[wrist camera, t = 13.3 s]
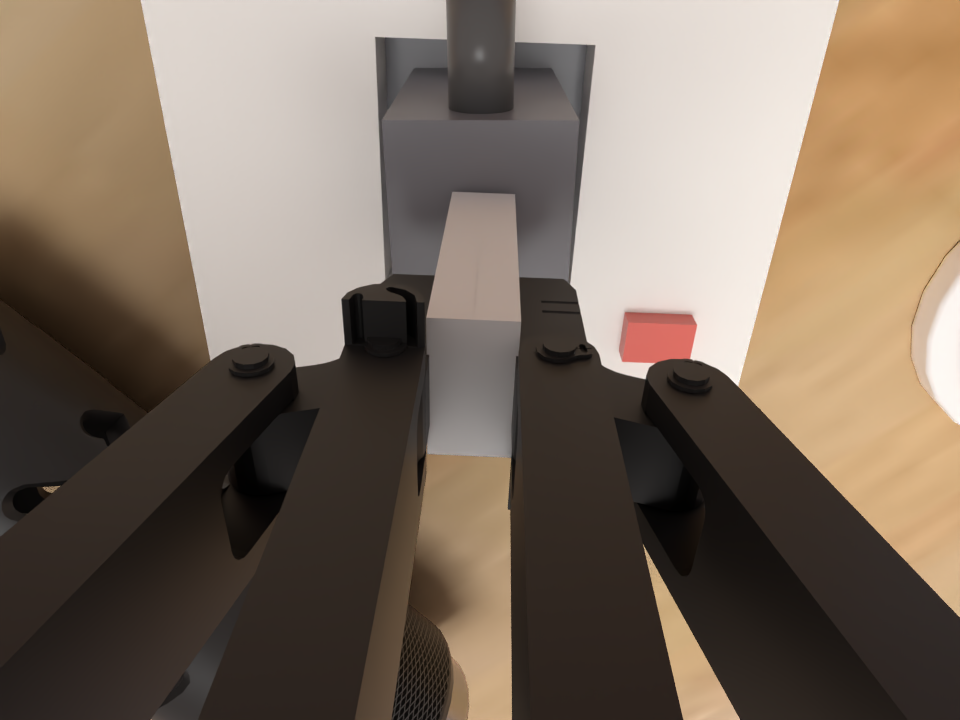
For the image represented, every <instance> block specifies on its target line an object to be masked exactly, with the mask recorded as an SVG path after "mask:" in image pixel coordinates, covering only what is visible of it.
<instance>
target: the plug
mask: <svg viewBox="0 0 960 720" xmlns="http://www.w3.org/2000/svg"><path fill="white" fill-rule="evenodd" d="M446 20H447V63H448V68H414V69H413V71H412V72H411V74H410V75H409V77H408V79H407V80H406V82H405V83H404V85H403V87H402V88H401V90H400V91H399V93H398V95H397V96H396V98H395V99H394V101H393V103H392V104H391V106H390V108H389V109H388V111H387V112H386V114H385V116H384V117H383V119H382V133H383V147H384V161H385V176H386V190H387V204H388V218H389V232H390V247H391V261H392V275H393V274H410V275H435V273H436V268H437V263H438V259H439V254H440V249H441V244H442V239H443V234H444V230H445V225H446V220H447V215H448V210H449V205H450V201H451V196H452V192H474V193H500V194H515V204H516V225H517V246H518V267H519V277H530V278H554V279H564V280H566V281H567V282H568V278H569V263H570V249H571V234H572V220H573V205H574V191H575V177H576V162H577V148H578V133H579V119H578V117H577V115H576V113H575V111H574V109H573V107H572V105H571V103H570V102H569V100H568V98H567V96H566V94H565V92H564V90H563V88H562V86H561V84H560V82H559V80H558V79H557V77H556V75H555V73H554V71H553V69H552V68H514V65H515V20H516V0H446Z"/></svg>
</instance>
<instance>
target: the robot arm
mask: <svg viewBox="0 0 960 720" xmlns="http://www.w3.org/2000/svg"><path fill="white" fill-rule="evenodd" d="M341 303H342V316H343V329H344V341H345V345H344V348H343V350H342V353H341V355H340V358H339V359H336V360H333V361H330V362H327V363H322V364H317V365H310V366H302V367H296V365H295V359H294V355H293V354H292V353H291V352H289V351H288V350H287V349H286V348H282V347H279V346H276V345H269V344H261V343H254V344H252V345H250V344H246V345H241V346H239V347H236V348H233V349H230V350H227V351H225V352H223V353H222V354H220V355H218V356H217V357H215V358H214V359H212V360H211V361H210V362H209V363H208V364H206V365H205V366H204V367H203V368H202V369H200V370H199V371H198V372H197V373H196V374H194V375H193V376H192V377H191V378H190V379H188V380H187V381H186V382H185V383H184V384H182V385H181V386H180V387H179V388H178V389H177V390H175V391H174V392H173V393H172V394H171V395H169V396H168V397H167V398H166V399H165V400H163V401H162V402H161V403H160V404H159V405H157V406H156V407H155V408H154V409H153V410H151V411H150V412H149V413H148V414H147V415H145V416H144V417H143V418H142V419H141V420H139V421H138V422H137V423H136V424H135V425H133V426H132V427H131V428H130V429H129V430H127V431H126V432H125V433H124V434H123V435H121V436H120V437H119V438H118V439H117V440H115V441H114V442H113V443H112V444H111V445H109V446H108V447H107V448H106V449H105V450H103V451H102V452H101V453H100V454H99V455H97V456H96V457H95V458H94V459H93V460H91V461H90V462H89V463H88V464H87V465H85V466H84V467H83V468H82V469H81V470H79V471H78V472H77V473H76V474H75V475H74V476H72V477H71V478H70V479H69V480H68V481H66V482H65V483H64V484H63V485H62V486H60V487H59V488H58V489H57V490H56V491H54V492H53V493H52V494H51V495H50V496H48V497H47V498H46V499H45V500H44V501H42V502H41V503H40V504H39V505H38V506H36V507H35V508H34V509H33V510H32V511H30V512H29V513H28V514H27V515H26V516H24V517H23V518H22V519H21V520H20V521H18V522H17V523H16V524H15V525H14V526H12V527H11V528H10V529H9V530H8V531H6V532H5V533H4V534H3V535H2V536H0V720H151V718H152V717H153V715H154V714H155V713H156V711H157V710H158V708H159V707H160V706H161V704H162V703H163V701H164V700H165V699H166V697H167V696H168V694H169V693H170V692H171V690H172V689H173V687H174V686H175V685H176V683H177V682H178V681H179V679H180V678H181V676H182V675H183V674H184V672H185V671H186V669H187V668H188V667H189V665H190V664H191V662H192V661H193V660H194V658H195V657H196V655H197V654H198V653H199V651H200V650H201V648H202V647H203V646H204V644H205V643H206V641H207V640H208V639H209V637H210V636H211V634H212V633H213V632H214V630H215V629H216V627H217V626H218V625H219V623H220V622H221V620H222V619H223V618H224V616H225V615H226V613H227V612H228V611H229V609H230V608H231V606H232V605H233V604H234V602H235V601H236V599H237V598H238V597H239V595H240V594H241V593H242V591H243V590H244V588H245V587H246V586H247V584H248V583H249V581H250V580H251V579H252V577H253V576H254V578H253V580H252V583H251V585H250V588H249V590H248V593H247V595H246V598H245V601H244V603H243V606H242V608H241V611H240V613H239V616H238V618H237V621H236V623H235V626H234V629H233V631H232V634H231V636H230V639H229V641H228V644H227V646H226V649H225V652H224V654H223V657H222V659H221V662H220V664H219V667H218V669H217V672H216V675H215V677H214V680H213V682H212V685H211V687H210V690H209V692H208V695H207V698H206V700H205V703H204V705H203V708H202V710H201V713H200V715H199V718H198V720H391V719H392V712H393V705H394V698H395V691H396V684H397V676H398V669H399V662H400V655H401V648H402V641H403V634H404V627H405V620H406V613H407V606H408V599H409V592H410V585H411V578H412V571H413V563H414V556H415V549H416V542H417V535H418V528H419V521H420V514H421V507H422V500H423V493H424V486H425V479H426V447H427V450H428V454H438V455H461V456H484V457H508V458H511V470H510V485H509V499H508V509H509V510H510V521H511V638H512V720H683V717H682V713H681V708H680V704H679V700H678V695H677V691H676V687H675V682H674V678H673V674H672V669H671V665H670V660H669V656H668V652H667V647H666V643H665V639H664V634H663V630H662V626H661V621H660V617H659V612H658V608H657V604H656V599H655V595H654V591H653V586H652V582H651V578H650V573H649V569H648V565H647V560H646V556H645V551H644V547H643V545H644V546H645V548H646V550H647V552H648V554H649V555H650V557H651V559H652V561H653V563H654V565H655V566H656V568H657V570H658V572H659V574H660V575H661V577H662V579H663V581H664V583H665V584H666V586H667V588H668V590H669V592H670V593H671V595H672V597H673V599H674V601H675V602H676V604H677V606H678V608H679V610H680V611H681V613H682V615H683V617H684V619H685V621H686V622H687V624H688V626H689V628H690V630H691V631H692V633H693V635H694V637H695V639H696V640H697V642H698V644H699V646H700V648H701V649H702V651H703V653H704V655H705V657H706V658H707V660H708V662H709V664H710V666H711V667H712V669H713V671H714V673H715V675H716V677H717V678H718V680H719V682H720V684H721V686H722V687H723V689H724V691H725V693H726V695H727V696H728V698H729V700H730V702H731V704H732V705H733V707H734V709H735V711H736V713H737V714H738V716H739V718H740V720H960V617H959V616H958V615H957V614H956V613H955V612H954V611H953V610H952V609H951V608H950V607H949V606H948V605H947V604H946V603H945V602H944V601H943V600H942V599H941V598H940V597H939V596H938V594H937V593H936V592H935V591H934V590H933V589H932V588H931V587H930V586H929V585H928V584H927V583H926V582H925V581H924V580H923V579H922V578H921V577H920V576H919V575H918V574H917V573H916V572H915V571H914V569H913V568H912V567H911V566H910V565H909V564H908V563H907V562H906V561H905V560H904V559H903V558H902V557H901V556H900V555H899V554H898V553H897V552H896V551H895V550H894V549H893V548H892V547H891V546H890V544H889V543H888V542H887V541H886V540H885V539H884V538H883V537H882V536H881V535H880V534H879V533H878V532H877V531H876V530H875V529H874V528H873V527H872V526H871V525H870V524H869V523H868V522H867V521H866V519H865V518H864V517H863V516H862V515H861V514H860V513H859V512H858V511H857V510H856V509H855V508H854V507H853V506H852V505H851V504H850V503H849V502H848V501H847V500H846V499H845V498H844V497H843V496H842V494H841V493H840V492H839V491H838V490H837V489H836V488H835V487H834V486H833V485H832V484H831V483H830V482H829V481H828V480H827V479H826V478H825V477H824V476H823V475H822V474H821V473H820V472H819V471H818V469H817V468H816V467H815V466H814V465H813V464H812V463H811V462H810V461H809V460H808V459H807V458H806V457H805V456H804V455H803V454H802V453H801V452H800V451H799V450H798V449H797V448H796V447H795V446H794V444H793V443H792V442H791V441H790V440H789V439H788V438H787V437H786V436H785V435H784V434H783V433H782V432H781V431H780V430H779V429H778V428H777V427H776V426H775V425H774V424H773V423H772V422H771V421H770V419H769V418H768V417H767V416H766V415H765V414H764V413H763V412H762V411H761V410H760V409H759V408H758V407H757V406H756V405H755V404H754V403H753V402H752V401H751V400H750V399H749V398H748V397H747V396H746V394H745V393H744V392H743V391H742V390H741V389H740V388H739V387H738V386H737V385H736V384H735V383H734V382H733V381H732V380H731V379H730V378H729V377H728V376H727V375H725V374H724V373H723V372H721V371H720V370H719V369H717V368H715V367H712V366H710V365H708V364H705V363H704V362H701V361H697V360H695V361H693V359H668V360H663V361H659V362H657V363H655V364H654V365H652V366H650V367H649V369H648V372H647V375H646V379H642V378H637V377H633V376H628V375H625V374H621V373H618V372H615V371H613V370H610V369H608V368H606V367H604V366H603V365H602V364H601V360H600V355H599V353H598V352H597V350H596V348H595V347H594V346H593V345H591V344H590V343H588V342H587V339H586V335H585V330H584V325H583V320H582V316H581V311H580V306H579V304H578V303H579V302H578V297H577V292H576V289H574V288H573V287H572V286H571V285H570V284H569V283H568V282H567V281H566V280H564V279H554V278H530V277H519V267H518V246H517V225H516V204H515V194H500V193H474V192H452V196H451V201H450V205H449V210H448V215H447V220H446V225H445V230H444V234H443V239H442V244H441V249H440V254H439V259H438V263H437V268H436V273H435V275H410V274H393V275H391V276H390V277H389V278H387V279H386V280H384V281H383V282H382V283H380V284H371V285H367V286H362V287H358V288H356V289H354V290H352V291H349V292H347V293H346V295H345V296H344V297H343V298H342V299H341ZM254 574H255V575H254Z"/></svg>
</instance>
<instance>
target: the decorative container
mask: <svg viewBox="0 0 960 720" xmlns="http://www.w3.org/2000/svg"><path fill="white" fill-rule="evenodd" d="M911 359H912V362H913V364H914V367H915V370H916V373H917V376H918V379H919V382H920V384H921V386H922V387H923V388H924V389H925V390H926V391H927V393H928V394H929V395H930V396H931V397H932V398H933V400H934V401H935V402H936V403H937V404H938V405H939V407H940V408H941V409H942V410H943V411H944V412H945V413H946V414H947V415H948V416H949V417H950V418H951V419H952V420H953V421H954V422H955V423H957V424H959V425H960V242H959V243H958V244H957V245H956V246H955V247H954V248H953V249H952V250H951V251H950V252H949V253H948V254H947V255H946V256H945V258H944V260H943V261H942V263H941V264H940V266H939V267H938V269H937V271H936V272H935V274H934V275H933V277H932V278H931V280H930V282H929V283H928V285H927V286H926V288H925V289H924V291H923V294H922V297H921V300H920V303H919V306H918V309H917V312H916V315H915V318H914V321H913V324H912V340H911Z"/></svg>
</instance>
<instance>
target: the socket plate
mask: <svg viewBox="0 0 960 720" xmlns="http://www.w3.org/2000/svg"><path fill="white" fill-rule="evenodd" d="M838 3H839V0H516V20H515V65H514V68H552V69H553V71H554V73H555V75H556V77H557V79H558V80H559V82H560V84H561V86H562V88H563V90H564V92H565V94H566V96H567V98H568V100H569V102H570V103H571V105H572V107H573V109H574V111H575V113H576V115H577V117H578V119H579V133H578V148H577V162H576V177H575V191H574V205H573V220H572V234H571V249H570V263H569V278H568V283H569V284H570V285H571V286H572V287H573V288H574V289H576V292H577V297H578V302H579V303H578V304H579V306H580V311H581V316H582V320H583V325H584V330H585V335H586V339H587V342H588V343H590V344H591V345H593V346H594V347H595V348H596V350H597V352H598V353H599V355H600V360H601V364H602V365H603V366H604V367H606V368H608V369H610V370H613V371H615V372H618V373H621V374H625V375H628V376H633V377H637V378H642V379H646V375H647V372H648V369H649V367H650V366H652V365H654V364H655V363H657V362H659V361H663V360H668V359H693V361H695V360H697V361H701V362H704V363H705V364H708V365H710V366H712V367H715V368H717V369H719V370H720V371H721V372H723V373H724V374H725V375H727V376H728V377H729V378H730V379H731V380H732V381H733V382H734V383H735V384H736V385H737V386H738V384H739V381H740V377H741V373H742V369H743V365H744V361H745V358H746V354H747V350H748V346H749V342H750V339H751V335H752V331H753V327H754V323H755V320H756V316H757V312H758V308H759V304H760V300H761V297H762V293H763V289H764V285H765V281H766V278H767V274H768V270H769V266H770V262H771V259H772V255H773V251H774V247H775V243H776V239H777V236H778V232H779V228H780V224H781V220H782V217H783V213H784V209H785V205H786V201H787V198H788V194H789V190H790V186H791V182H792V178H793V175H794V171H795V167H796V163H797V159H798V156H799V152H800V148H801V144H802V140H803V137H804V133H805V129H806V125H807V121H808V117H809V114H810V110H811V106H812V102H813V98H814V95H815V91H816V87H817V83H818V79H819V76H820V72H821V68H822V64H823V60H824V56H825V53H826V49H827V45H828V41H829V37H830V34H831V30H832V26H833V22H834V18H835V15H836V11H837V7H838ZM141 4H142V9H143V14H144V19H145V25H146V30H147V35H148V40H149V45H150V50H151V56H152V61H153V66H154V71H155V76H156V81H157V86H158V92H159V97H160V102H161V107H162V112H163V117H164V123H165V128H166V133H167V138H168V143H169V148H170V154H171V159H172V164H173V169H174V174H175V179H176V185H177V190H178V195H179V200H180V205H181V210H182V216H183V221H184V226H185V231H186V236H187V241H188V247H189V252H190V257H191V262H192V267H193V272H194V277H195V283H196V288H197V293H198V298H199V303H200V308H201V314H202V319H203V324H204V329H205V334H206V339H207V345H208V350H209V355H210V360H212V359H214V358H215V357H217V356H218V355H220V354H222V353H223V352H225V351H227V350H230V349H233V348H236V347H239V346H241V345H246V344H250V345H252V344H254V343H261V344H269V345H276V346H279V347H282V348H286V349H287V350H288V351H289V352H291V353H292V354H293V355H294V359H295V365H296V367H302V366H310V365H317V364H322V363H327V362H330V361H333V360H336V359H339V358H340V355H341V353H342V350H343V348H344V345H345V341H344V329H343V316H342V303H341V299H342V298H343V297H344V296H345V295H346V293H347V292H349V291H352V290H354V289H356V288H358V287H362V286H367V285H371V284H380V283H382V282H383V281H384V280H386V279H387V278H389V277H390V276H391V275H392V261H391V247H390V232H389V218H388V204H387V190H386V176H385V161H384V147H383V133H382V119H383V117H384V116H385V114H386V112H387V111H388V109H389V108H390V106H391V104H392V103H393V101H394V99H395V98H396V96H397V95H398V93H399V91H400V90H401V88H402V87H403V85H404V83H405V82H406V80H407V79H408V77H409V75H410V74H411V72H412V71H413V69H414V68H448V63H447V20H446V0H141Z"/></svg>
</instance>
